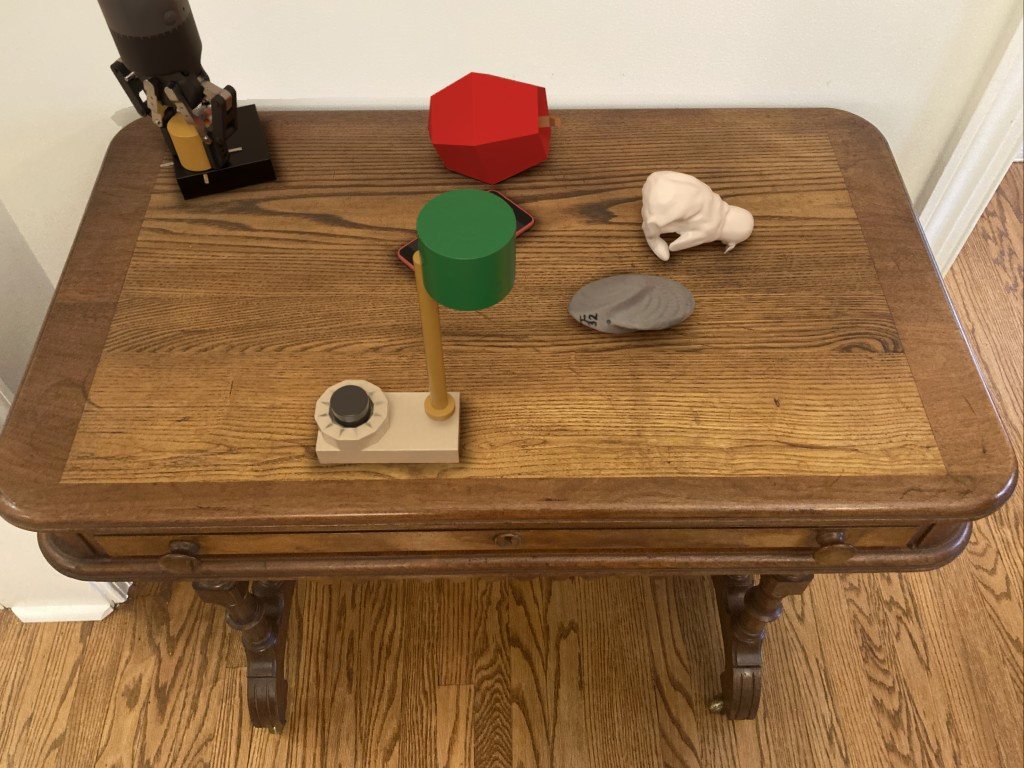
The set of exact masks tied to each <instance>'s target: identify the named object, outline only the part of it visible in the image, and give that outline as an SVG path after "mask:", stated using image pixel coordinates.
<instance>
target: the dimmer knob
mask: <svg viewBox="0 0 1024 768" xmlns="http://www.w3.org/2000/svg"><path fill="white" fill-rule="evenodd" d="M196 110H197V109H194V110H192V111H193V113H194V112H195V111H196ZM204 123H205V125H206V127H207V129H208V128H209V127H210V126H211V123H210V122H209V120H208V118H206V119H205V120H204ZM167 129H168V131H169V134H170V137H171V139H172V142H173V144H174V147H175V149H176V152H177V154H178V157H179V160H180V162H181V164H182V166H183V167H184V168H186V169H188V170H191V171H204V170H208V169H210V168H211V166H210V163H209V160H208V157H207V154H206V152H205V149H204V146H203V143H202V142H203V140H202V139H201V137H200V136H199V134H198V132H197V131H196V129H195V128H194V126H193V125H188V124H187V123H186V121H185V119H184V118H183V116H182V114H181V113H180V112H177V113H176V114H175V115H174V116H173V117H172V118H171V119H170V120H169V122H168V124H167Z"/></svg>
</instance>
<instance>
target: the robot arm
mask: <svg viewBox="0 0 1024 768" xmlns="http://www.w3.org/2000/svg"><path fill="white" fill-rule="evenodd" d="M96 1H97V4H98V5H99V9H100V11H101V13H102V16H103V18H104V21H105V23H106V25H107V29H108V30H109V33H110V35H111V37H112V40H113V42H114V45H115V48H116V49H117V52H118V54H119V57H118V58H117V59H115V60H114V62H113V63H111V64H110V65H109V68H110V70H111V72H112V73H113V75H114V77H115V79H116V80H117V82H118V83H119V85H120V87H121V88H122V89H123V91H124V93H125V94H126V97H128V99H129V101H130V102H131V104H132V105H133V107H134V109H135V110H136V112H137V114H138V115H139V116H140V117H142V118H147V117H150V118H151V121H152V123H153V124H154V125H155V126H156V127H158V128H159V129H160V131H161V132H160V133H161V134H162V137H163V139H164V141H165V144H166V145H167V147H168V149H169V152H170V154H171V153H172V154H174V155H177V156H178V154H177V152H176V149H175V147H174V144H173V142H172V139H171V137H170V134H169V131H168V129H167V124H168V122H169V120H170V119H171V118H172V117H173V116H174V115H176V114H178V111H179V113H181V114H182V116H183V118H184V119H185V121H186V123H187V124H188V125H193V126H194V128H195V129H196V131H197V132H198V134H199V136H200V137H201V139H202V140H203V142H202V143H203V146H204V149H205V152H206V154H207V157H208V160H209V163H210V166H211V168H213V169H216V170H220V169H221V168H222V167H223V166H224V165H225V164H226V163H227V162H228V160H229V159H230V153H229V150H228V147H227V144H226V140H227V139H228V138H229V137H231V136H232V135H233V134H234V133H235V132H236V131H237V130H238V119H237V107H238V98H237V97H238V95H237V94H238V93H237V90H236V88H235V87H233V86H232V85H231V84H227V85H225V86H224V87H223V88H221V87H220V86H218V85H217V84H214V83H213V82H212V81H211V79H210V76H209V75H208V73H207V72H206V70H205V69H204V66H203V65H202V52H203V42H202V39H201V35H200V33H199V29H198V26H197V23H196V20H195V17H194V14H193V10H192V8H191V7H192V6H191V4H190V1H189V0H96ZM142 91H143V93H144V95H145V96H146V99H145V100H143V99H142V97H141V95H140V93H141V92H142ZM192 110H196V111H195V112H194V113H193V111H192ZM206 118H208V120H209V122H210V123H211V126H210V127H209V128H208V129H207V127H206V125H205V123H204V120H205V119H206Z"/></svg>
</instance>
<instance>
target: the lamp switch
mask: <svg viewBox="0 0 1024 768" xmlns="http://www.w3.org/2000/svg"><path fill="white" fill-rule="evenodd" d="M330 407H331V410H332V414H333V417H334V419H335V421H336V422H337V423H338V424H340V425H341V426H344V427H356V426H359V425H361V424H363V423H364V422H365V421H366V420H367V419H368V418H369V416H370V413H371V407H370V402H369V398H368V395H367V393H366V391H365V390H364V389H363V388H361V387H359V386H356V385H346V386H343V387H340V388H339V389H337V390H336V391H335V392H334V393H333V394H332V396H331V398H330Z"/></svg>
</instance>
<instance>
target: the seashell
mask: <svg viewBox="0 0 1024 768" xmlns="http://www.w3.org/2000/svg"><path fill="white" fill-rule="evenodd" d="M695 301H696V300H695V296H694V295H693V293H692V292H691V291H690V289H688V288H687V287H685V285H683V284H682V283H679V281H676V280H674V279H671V278H666V277H664V276H659V275H653V274H640V273H629V274H628V273H627V274H625V273H623V274H617V275H611V276H607V277H604V278H600V279H597V280H594V281H591V282H589V283H587V284H585V285H583V286H582V287H580V288H579V289H578V290H577V291H576V292H574V294H573V296H572V297H571V299H570V301H569V303H568V305H567V312H568V314H569V315H570V316H571V317H572V318H574V319H575V320H576V321H577V322H578V323H580V324H582V326H586V327H588V328H590V329H594V330H595V331H599V332H602V333H605V334H614V335H623V334H631V333H635V332H638V331H655V330H658V331H660V330H665V329H670V328H673V327H675V326H678V325H680V324H681V323H684V321H685V320H686V319H688V318H689V317H691V315H693V313H694V310H695V308H696V302H695Z"/></svg>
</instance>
